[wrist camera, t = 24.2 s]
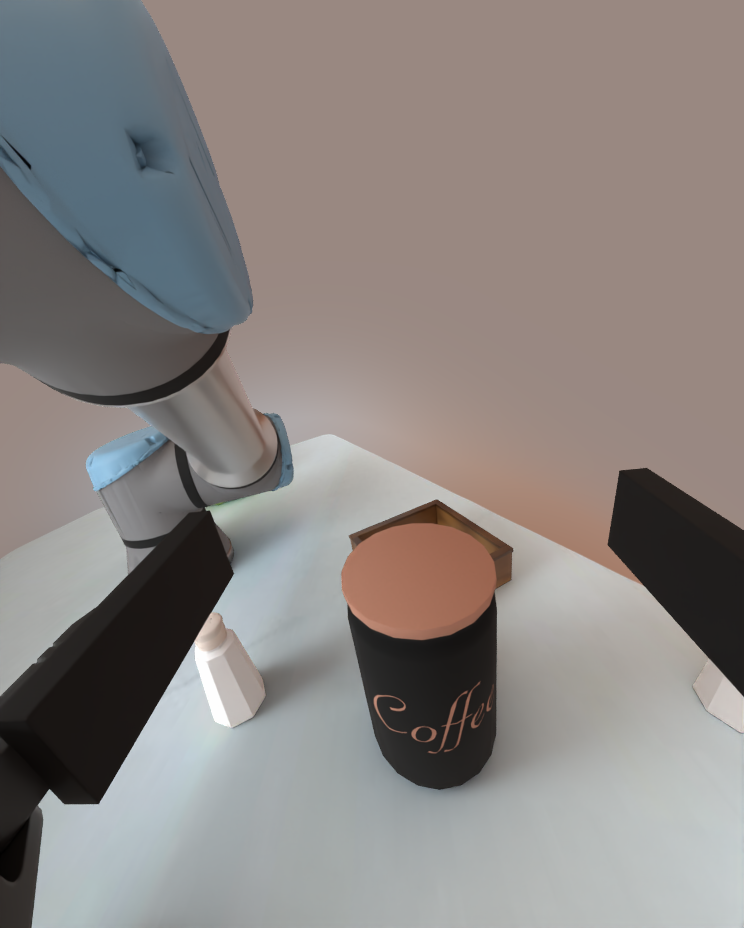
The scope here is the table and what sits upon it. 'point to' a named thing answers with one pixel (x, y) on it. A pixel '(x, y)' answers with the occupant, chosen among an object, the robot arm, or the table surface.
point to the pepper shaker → (227, 674)
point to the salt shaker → (720, 696)
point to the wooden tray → (448, 517)
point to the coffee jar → (426, 648)
